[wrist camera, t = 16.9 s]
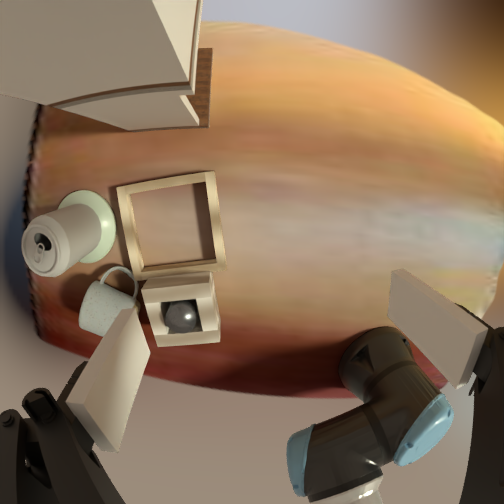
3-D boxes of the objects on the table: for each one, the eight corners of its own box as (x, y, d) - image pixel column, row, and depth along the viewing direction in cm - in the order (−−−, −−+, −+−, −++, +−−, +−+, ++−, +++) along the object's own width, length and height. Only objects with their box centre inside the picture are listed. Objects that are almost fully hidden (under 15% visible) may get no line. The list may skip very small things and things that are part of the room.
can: (111, 215, 36) (69, 235, 24) (96, 260, 37) (56, 293, 26) (71, 194, 34) (23, 207, 23) (58, 239, 36) (13, 264, 24)
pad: (123, 257, 38) (121, 258, 38) (66, 264, 38) (64, 266, 37) (109, 183, 35) (107, 183, 34) (52, 198, 35) (49, 198, 34)
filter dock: (234, 318, 43) (235, 340, 37) (152, 326, 42) (143, 347, 36) (214, 170, 36) (212, 171, 30) (121, 186, 35) (104, 190, 30)
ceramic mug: (136, 330, 42) (124, 357, 35) (93, 312, 41) (74, 335, 33) (151, 274, 40) (137, 295, 32) (104, 255, 38) (82, 272, 31)
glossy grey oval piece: (200, 313, 40) (198, 332, 35) (174, 316, 40) (169, 334, 35) (195, 289, 39) (192, 305, 34) (168, 292, 39) (161, 308, 34)
